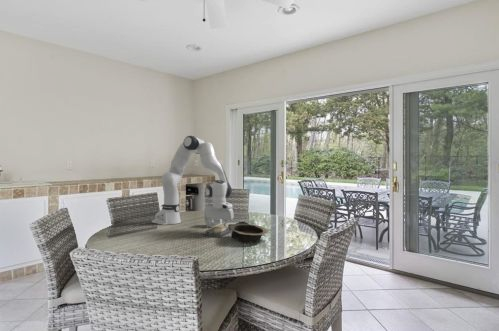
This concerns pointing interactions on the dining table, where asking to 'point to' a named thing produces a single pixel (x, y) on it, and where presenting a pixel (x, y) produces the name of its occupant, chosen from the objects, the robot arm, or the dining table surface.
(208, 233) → the chassis
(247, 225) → the stone bowl
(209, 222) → the light bulb box
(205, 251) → the dining table surface
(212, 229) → the birch board
